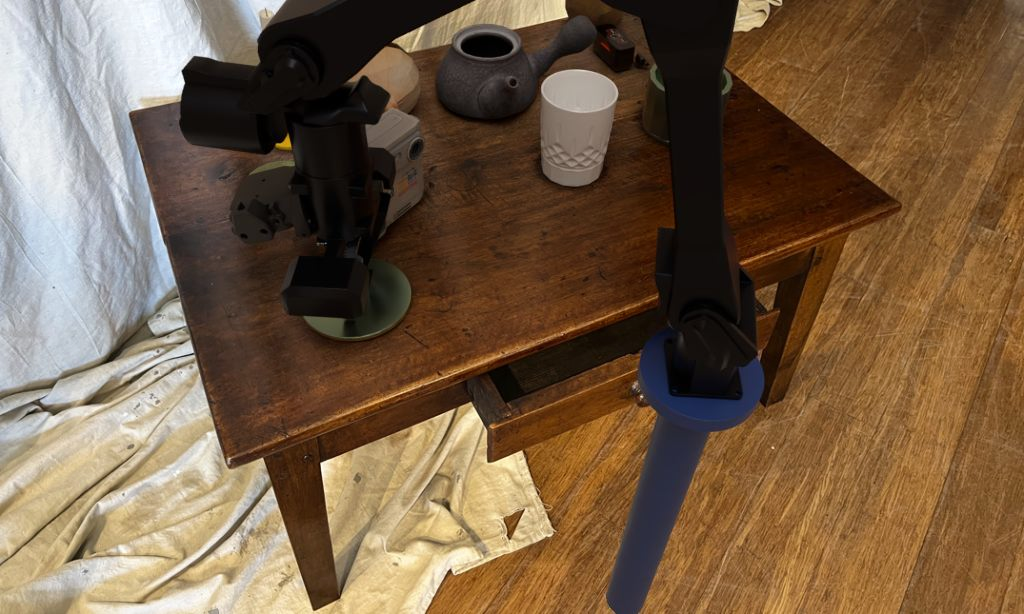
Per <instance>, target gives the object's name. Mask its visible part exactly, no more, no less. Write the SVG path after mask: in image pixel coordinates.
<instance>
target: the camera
mask: <svg viewBox="0 0 1024 614" xmlns="http://www.w3.org/2000/svg"><path fill="white" fill-rule="evenodd" d="M365 125H366V133H367V141H368V147H378V148H385V149H386V150H387V151H388V152H390V153H391V154H392V155H393V156H395V165H396V176H395V180H394V184H393V189H392V190H385V189H384V188H383V180H372V181H373V187H374V190H380V192H386V193H389V194H390V196H391V200H390V204H389V208H388V213H387V216H386V219H385V222H384V225H383V227H382V230H381V233H380V235H379V238H378V240H380V239H381V238H382V237H383V236H384V235H385V234H386V231H387V228H388V227H389V226H390V225H392V224H393V223H394V222H396V221H397V220H398V219H399V218H400V217H402V216H403V215H404V214H405V213H407V212H408V211H409V210H410V209H412V208H413V207H414V206H415V205H416V204H418V203H420V201H421V199H422V198H423V196H424V189H425V184H424V183H425V179H424V163H423V162H424V159H423V153H424V149H425V147H426V137H425V135H424V134H423V133H422V123H421V120H420V118H418V117H416V116H414V115H412V114H406V113H404V112H402V111H400V110H398V109H390V110H388V111H387V112H385V113H384V114H382V116H381V118H380V120H379V122H378V124H376V125H368V124H365Z"/></svg>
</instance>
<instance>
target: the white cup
mask: <svg viewBox="0 0 1024 614" xmlns="http://www.w3.org/2000/svg"><path fill="white" fill-rule="evenodd" d="M618 99H619V90H618V87H617V86H616V84H615V83H614V81H613V80H611V79H610V78H609V77H607V76H605V75H603V74H601V73H599V72H595V71H591V70H586V69H575V68H574V69H565V70H559V71H557V72H555V73H552V74H551V75H549V76H547V77H546V78H545V79H544V80H543V82H542V83H541V87H540V150H541V153H540V154H541V156H540V157H541V158H540V159H541V160H540V165H541V169H542V173H543V174H544V176H545V177H547V178H548V180H549V181H550V182H553V183H555V184H558V185H560V186H563V187H565V186H566V187H575V188H577V187H578V188H579V187H583V186H587V185H590V184H591V183H593V182H595V181H596V180H598V179H599V178H600V176H601V173H602V171H603V166H604V161H605V157H606V155H607V150H608V146H609V143H610V142H609V141H610V138H611V133H612V130H613V129H612V128H613V123H614V117H615V113H616V107H617V103H618Z"/></svg>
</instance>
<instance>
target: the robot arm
mask: <svg viewBox="0 0 1024 614" xmlns="http://www.w3.org/2000/svg"><path fill="white" fill-rule="evenodd" d="M476 1H477V0H285V1H284V2H283V3H282V4H281V6H280V7H279V9H278V10H277V11H276V13H275V14H274V16H273V18H272V19H271V20H270V22H269V23H268V24H267V25H266V27H265V28H264V29H263V31H262V30H261V32H260V33H259V35H258V37H257V39H256V42H257V55H258V58H259V62H258V64H257V65H252V64H245V63H238V62H237V63H236V62H230V61H229V62H228V61H222V60H217V59H215V58H212V57H207V56H198V55H193V56H192V57H191V58H190V59H189V61H188V62H187V63H186V64H185V66H184V67H183V68H182V69H181V75H182V78H183V82H184V84H183V86H182V87H183V88H182V91H181V95H180V101H179V115H180V118H179V120H178V125H179V129H180V132H181V135H182V136H183V138H184V140H185V141H186V142H187V143H189V144H190V145H191V146H195V147H196V146H197V147H201V148H202V147H203V148H209V149H210V148H211V149H217V150H225V151H232V152H240V153H247V154H255V155H261V156H267V155H269V154H270V153H271V152H272V151H273V150H274V149H275V148H276V147H275V145H276V143H279V144H281V143H282V142H283V141H284V140H285V139H286V137H287V135H288V134H289V139H290V143H291V148H292V150H291V153H292V158H293V160H294V163H295V166H281V167H277V168H274V169H270V170H266V171H262V172H258V173H254V174H251V175H249V174H248V175H249V176H248V175H246V177H244V178H243V179H242V180H241V181H240V183H239V184H238V188H237V189H236V192H235V193H234V196H233V198H232V201H231V203H230V205H229V211H230V214H229V216H228V220H229V222H230V223H231V224H232V225H231V226H232V227H231V233H232V234H233V235H235V236H237V237H238V238H239V240H240V241H241V242H242V243H244V244H246V245H256V244H260V243H265V242H270V241H272V240H274V237H275V234H276V233H281V232H284V231H289V230H291V229H293V230H294V235H295V238H300V239H311V238H312V237H313V235H316V239H315V245H316V246H318V247H326V248H325V251H324V254H323V256H321V255H306V254H299V255H298V256H296V257H295V258H294V259H292V260H291V261H290V262H289V264H288V265H289V266H288V268H287V271H286V274H285V276H284V280H283V283H282V285H281V288H280V292H279V296H280V300H281V303H282V307H283V310H284V311H285V312H286V313H287V315H288V316H293V317H296V316H297V317H302V316H310V317H327V318H343V319H349V320H354V319H356V318H357V317H359V316H361V315H362V314H363V313H364V308H365V304H366V300H367V296H368V293H369V290H370V286H371V281H372V277H373V273H374V270H373V269H368V266H369V263H370V260H371V258H373V255H374V252H375V249H376V247H377V243H378V240H379V239H380V238H379V235H380V233H381V230H382V227H383V225H384V222H385V219H386V216H387V213H388V208H389V204H390V200H391V196H390V194H389V193H386V192H380V190H374V187H373V181H372V180H383V188H384V189H385V190H392V189H393V184H394V180H395V176H396V165H395V156H393V155H392V154H391V153H390V152H388V151H387V150H386V149H385V148H378V147H368V141H367V133H366V125H365V124H368V125H376V124H378V122H379V120H380V118H381V116H382V114H383V112H384V110H385V108H386V106H387V104H388V102H389V100H390V98H391V95H390V93H389V92H388V91H386V90H385V89H384V88H382V87H381V86H379V85H376V84H374V83H373V82H372V81H370V79H369V78H368V77H367V76H366V75H362V76H361V77H360V79H359V80H357V81H355V82H349V80H350V79H351V78H352V77H354V76H355V75H356V74H357V73H359V72H360V71H361V70H362V69H363V68H364V67H365V66H366V65H367V64H368V63H369V62H370V61H371V60H372V59H373V58H374V57H375V56H376V55H377V54H378V53H379V52H380V51H381V50H382V49H383V48H385V47H386V46H387V45H389V44H390V43H391V42H392V43H394V42H395V40H397V39H399V38H401V37H403V36H405V35H408V34H409V33H411V32H414V31H415V30H418V29H420V28H422V27H424V26H426V25H429V24H430V23H432V22H435V21H436V20H438V19H440V18H442V17H445V16H447V15H449V14H452V13H454V12H455V11H457V10H459V9H461V8H463V7H465V6H467V5H469V4H471V3H474V2H476ZM600 1H602V2H603V3H605V4H606V5H608V6H610V7H612V8H614V9H617V10H619V11H622V12H624V13H625V14H628V15H630V16H634V17H637V18H639V19H640V24H641V27H642V30H643V33H644V37H645V40H646V44H647V48H648V50H649V53H650V56H651V58H652V59H653V61H654V64H656V66H657V68H658V70H659V72H660V74H661V76H662V79H663V83H664V89H665V102H666V115H667V128H668V141H669V145H668V153H669V154H668V155H669V168H670V178H671V179H670V180H671V193H672V194H671V195H672V206H673V217H674V218H673V220H674V228H673V227H661V226H659V227H657V234H656V235H657V238H656V249H655V265H654V276H653V277H654V282H655V286H656V289H657V292H658V295H657V309H656V311H657V312H656V314H657V315H658V316H662V315H664V314H665V318H666V321H667V324H668V327H669V326H670V327H671V328H672V329H673V330H675V331H677V330H678V331H679V335H678V338H666V339H665V340H664V352H665V361H666V371H667V381H668V391H669V394H670V395H671V396H674V397H688V398H706V399H723V400H740V399H741V398H742V396H743V390H742V384H741V379H740V373H739V368H738V367H746V366H747V365H748V364H749V363H750V362H751V361H752V360H753V359H755V358H756V357H757V358H758V356H759V342H758V341H759V340H758V319H757V299H756V298H757V296H756V280H755V278H753V276H752V275H751V274H750V273H749V272H748V271H747V270H746V269H745V268H744V267H743V266H742V265H741V263H740V256H739V252H738V248H737V244H736V240H735V237H734V232H733V229H732V227H731V225H730V223H729V221H728V219H727V216H726V213H725V181H724V180H725V176H724V174H725V173H724V169H725V168H724V126H723V125H724V118H723V114H722V76H723V71H724V69H725V67H726V63H727V60H728V56H729V52H730V49H731V45H732V40H733V36H734V30H735V24H736V20H737V14H738V9H739V4H740V3H739V2H740V0H600ZM378 238H379V239H378ZM363 261H364V264H363ZM667 342H670V343H671V344H669V343H667ZM673 390H676V391H677V392H674V391H673ZM735 393H737V394H739V395H736V394H735Z"/></svg>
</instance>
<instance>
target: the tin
mask: <svg viewBox="0 0 1024 614" xmlns="http://www.w3.org/2000/svg"><path fill="white" fill-rule="evenodd" d="M732 87H733V80H732V76H731V73H730V72H728V71H727V69H726V68H724V71H723V76H722V114H723V119H724V118H725V114H726V110H727V106H728V103H729V99H730V96H731V92H732ZM641 126H642V128H643V130H644V131H645V133H646V134H647V135H648V136H650V137H651V138H652V139H654V140H655V141H657V142H658V143H661V144H663V145H666V146H669V141H668V128H667V115H666V102H665V89H664V83H663V79H662V76H661V74H660V72H659V70H658V68H657V66H656V64H655V63H654V64H653V65H652V67H651V68H650V70H649V73H648V79H647V85H646V90H645V96H644V102H643V107H642V113H641Z"/></svg>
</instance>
